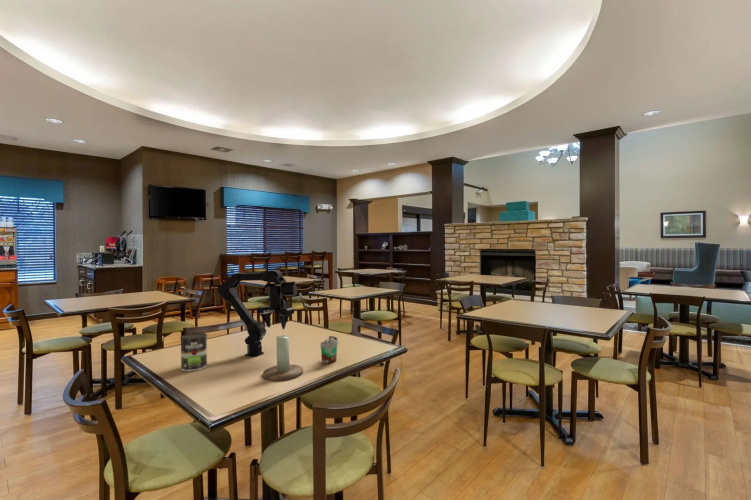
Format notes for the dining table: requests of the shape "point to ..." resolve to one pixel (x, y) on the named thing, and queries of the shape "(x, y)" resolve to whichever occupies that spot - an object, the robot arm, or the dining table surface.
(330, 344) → the food container
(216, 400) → the dining table surface
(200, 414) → the dining table surface
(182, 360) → the coffee can
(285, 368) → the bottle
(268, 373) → the disc
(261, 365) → the dining table surface
